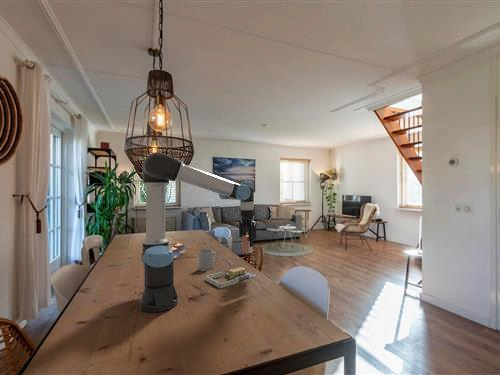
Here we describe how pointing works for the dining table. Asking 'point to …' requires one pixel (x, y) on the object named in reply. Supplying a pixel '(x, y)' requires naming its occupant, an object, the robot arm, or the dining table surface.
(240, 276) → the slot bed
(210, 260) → the mug
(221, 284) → the tray
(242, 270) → the chip
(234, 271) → the chip
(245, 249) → the salmon pink flat-faced block
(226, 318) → the dining table surface
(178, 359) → the dining table surface
